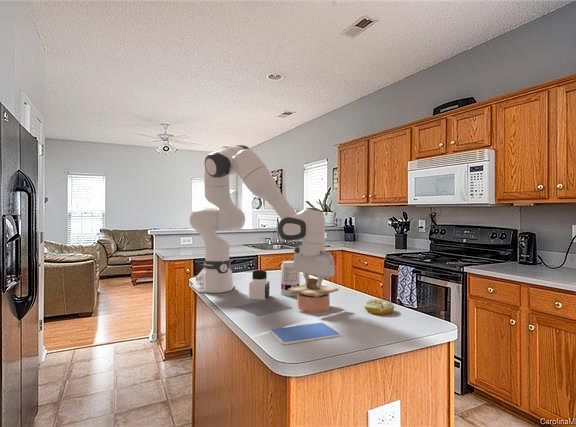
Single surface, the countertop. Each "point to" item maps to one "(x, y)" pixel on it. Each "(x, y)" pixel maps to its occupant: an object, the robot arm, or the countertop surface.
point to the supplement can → (289, 278)
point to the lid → (312, 289)
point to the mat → (263, 307)
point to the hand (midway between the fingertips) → (313, 285)
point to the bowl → (313, 302)
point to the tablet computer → (303, 333)
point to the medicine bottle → (259, 285)
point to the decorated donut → (379, 307)
